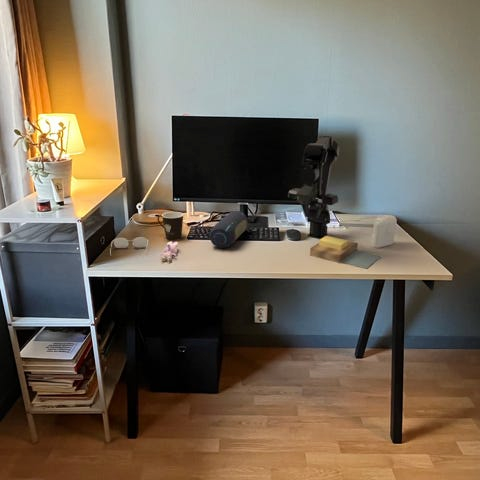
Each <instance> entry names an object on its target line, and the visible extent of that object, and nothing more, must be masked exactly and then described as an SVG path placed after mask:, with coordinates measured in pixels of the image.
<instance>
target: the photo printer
mask: <svg viewBox="0 0 480 480" xmlns="http://www.w3.org/2000/svg"><path fill="white" fill-rule="evenodd" d="M378 217H379V218H377V219H376V220H375V222H374V227H372V228H373V230H372V237H371V247H373V248H376V249H378V248H384V247H387V246H390V245H394V244H395V239H396V238H395V236H396V228H397V222H398V220H397V218H396V216H395V215H392V214H385V215H382V216H378Z"/></svg>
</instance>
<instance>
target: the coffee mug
mask: <svg viewBox="0 0 480 480" xmlns="http://www.w3.org/2000/svg"><path fill="white" fill-rule="evenodd" d="M160 218H162V223H163V224H162V223H161V221H160ZM157 222H158V224H159V225H160V226H161V227H162V228H163V229H164V234H165V235H164V236H165V239H166V240H167V241H170V242H175V241H179V240H181V239H182V236H183V222H184V213H183V212H180V211H179V212H178V211H169V212H164V213H162V214H161V215H158V216H157Z"/></svg>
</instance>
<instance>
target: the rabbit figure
mask: <svg viewBox="0 0 480 480" xmlns="http://www.w3.org/2000/svg"><path fill="white" fill-rule="evenodd" d="M178 245H179V242H178V241H168V242H167V244H166V247H165V248H164V250H163V252H162V253H160V254H159V256H161V261H160V263H164V262H166V261H167V263H168V264H171V263H170V262H171V261H172V256H175V257H176V256H177V253H178V250H177V247H178Z"/></svg>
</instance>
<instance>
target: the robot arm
mask: <svg viewBox="0 0 480 480" xmlns="http://www.w3.org/2000/svg"><path fill="white" fill-rule="evenodd" d="M339 156H340V146H339V143H338V142H337V141H335V139H334V137H333V136H331V135H330V136H329V135H320V136H319V139H318V140H317V141H316V142H315V143H308V144H307V145H306V147H305V148H304V151H303V156H302V160H301V164H302V165H305V168H303V169H302V170H301V171H300V174H299V179H300V181H301V182H302V183H303V185H302V187H300V188H297V187H295V188H293V189H290V190H289V191H288V193H287V197H288V198H289V199H296V202H298V203H300V205H301V207H302V208H301V209H302V210H303V214H304V217H305V218H306V219H307V220H306V221H307V223H309V233H308V234H307V236H308V237H309V238H310V237H311V238H315V239H319V240H320V239H322V238H323V237H325V236H329V233H328V225H329V223H330V214H331V213H330V210H329V206H333V205H335V204H337V203H339V197H338V195H337V194H333V193H328V190H329V189H328V188H329V184H330V183H329V182H330V179H331V178H330V177H331V170H332V167H333V166H334V165H335V164H336V163H337V159H338V157H339Z"/></svg>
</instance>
